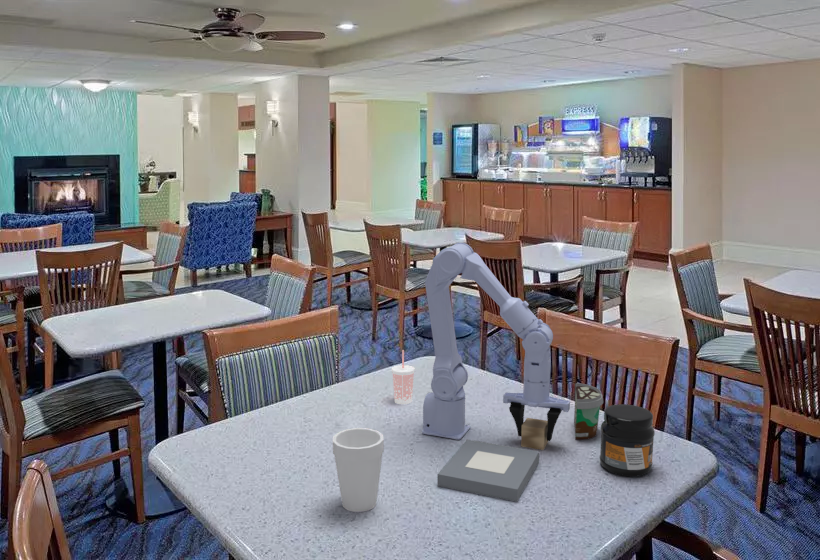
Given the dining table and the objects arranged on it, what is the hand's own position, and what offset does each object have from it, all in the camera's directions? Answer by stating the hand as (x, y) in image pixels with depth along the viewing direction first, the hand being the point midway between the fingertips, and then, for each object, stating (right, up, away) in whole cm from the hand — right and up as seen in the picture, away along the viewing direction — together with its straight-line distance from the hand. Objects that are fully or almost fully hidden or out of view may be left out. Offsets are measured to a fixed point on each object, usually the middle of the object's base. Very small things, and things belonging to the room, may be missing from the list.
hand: (535, 437), depth 155 cm
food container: (+13, -1, +6) cm, 15 cm away
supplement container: (+17, -4, -11) cm, 20 cm away
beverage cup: (-30, +3, +27) cm, 40 cm away
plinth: (-12, -4, -14) cm, 19 cm away
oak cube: (0, -2, 0) cm, 2 cm away
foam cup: (-38, -7, -25) cm, 46 cm away
